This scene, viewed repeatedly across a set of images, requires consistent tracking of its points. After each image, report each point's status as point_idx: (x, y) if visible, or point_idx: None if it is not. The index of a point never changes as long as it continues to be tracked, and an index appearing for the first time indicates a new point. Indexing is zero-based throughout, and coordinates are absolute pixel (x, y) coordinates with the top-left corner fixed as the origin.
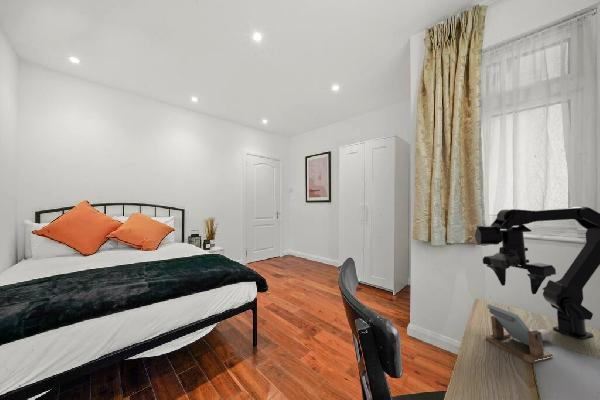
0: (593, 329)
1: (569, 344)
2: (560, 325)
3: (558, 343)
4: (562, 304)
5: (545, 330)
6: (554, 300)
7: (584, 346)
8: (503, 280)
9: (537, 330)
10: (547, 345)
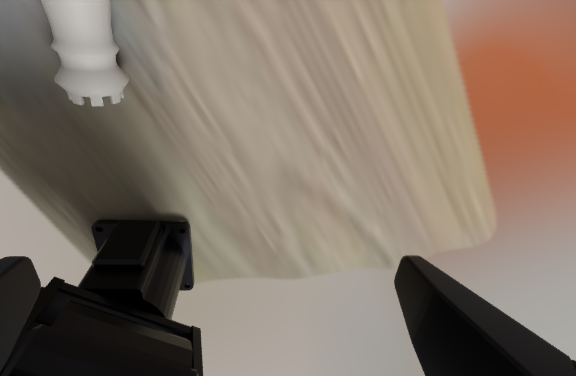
0: None
1: (60, 139)
2: (140, 236)
3: None
4: (26, 331)
5: (71, 85)
6: (61, 340)
7: (40, 176)
8: (432, 332)
9: (91, 49)
10: None
